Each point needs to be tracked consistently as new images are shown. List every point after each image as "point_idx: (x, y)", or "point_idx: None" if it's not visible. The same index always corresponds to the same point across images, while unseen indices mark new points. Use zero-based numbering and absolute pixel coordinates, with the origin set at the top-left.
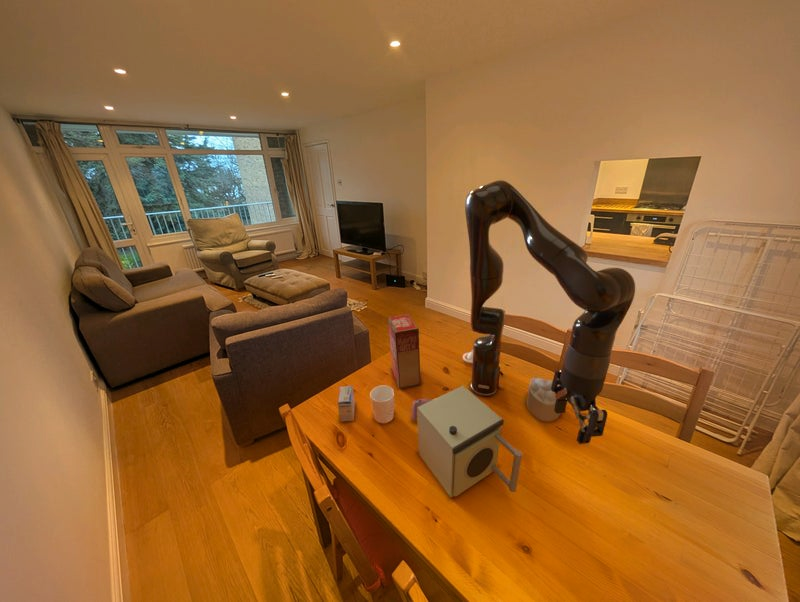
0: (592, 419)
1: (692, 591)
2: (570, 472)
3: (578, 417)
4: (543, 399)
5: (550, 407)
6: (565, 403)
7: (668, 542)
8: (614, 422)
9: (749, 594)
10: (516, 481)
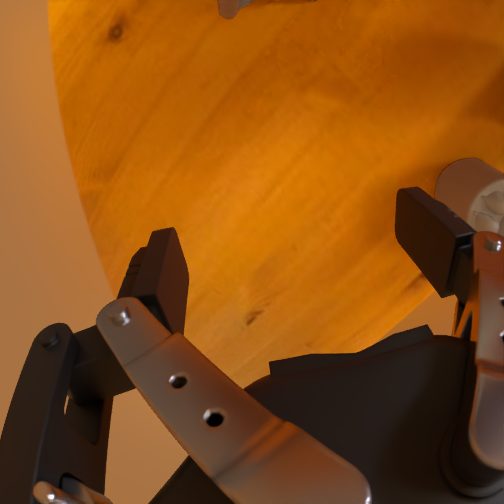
0: (7, 475)
1: (111, 281)
2: (302, 180)
3: (136, 367)
4: (485, 200)
5: (462, 208)
6: (431, 274)
7: None
8: (402, 311)
9: None
10: (218, 5)
